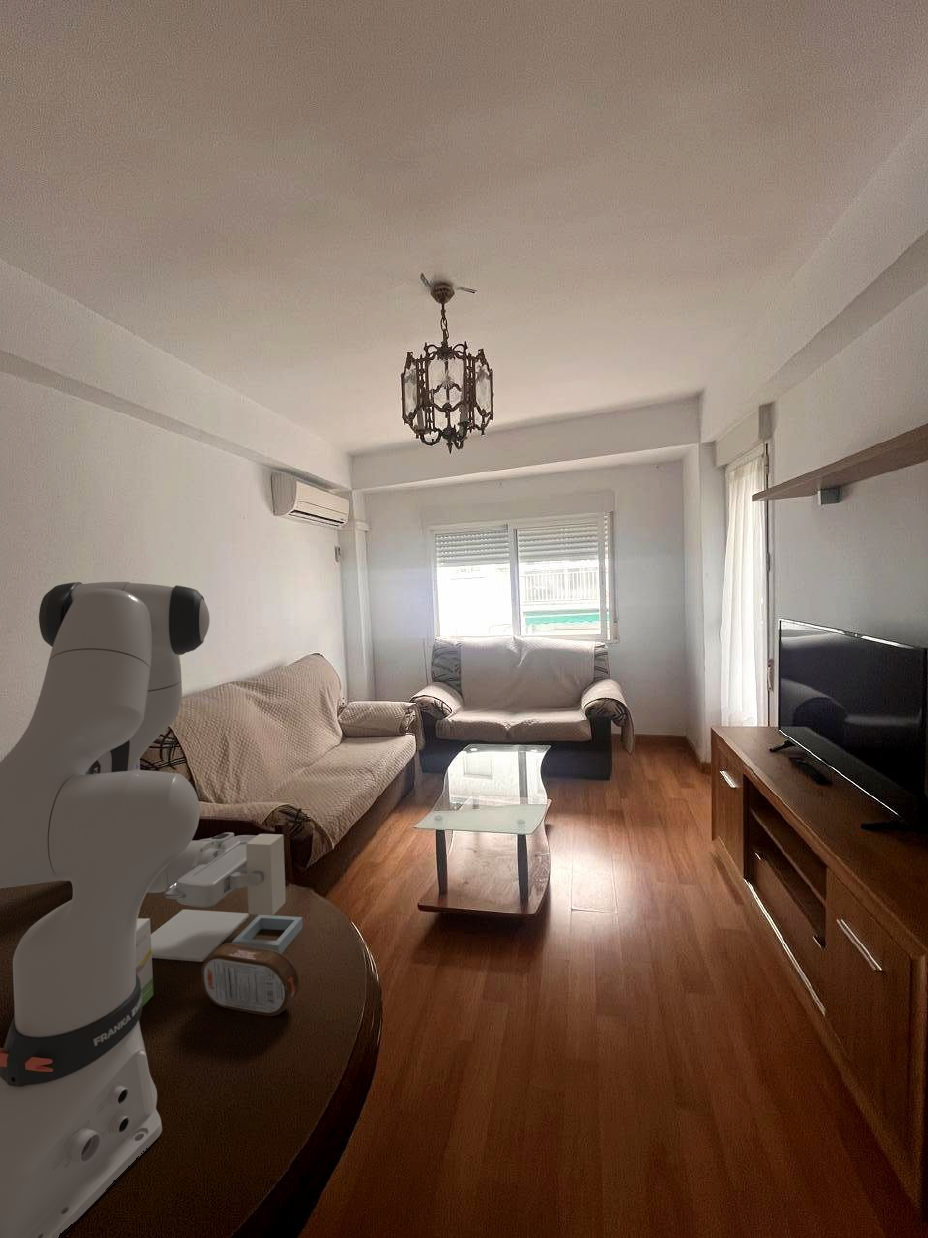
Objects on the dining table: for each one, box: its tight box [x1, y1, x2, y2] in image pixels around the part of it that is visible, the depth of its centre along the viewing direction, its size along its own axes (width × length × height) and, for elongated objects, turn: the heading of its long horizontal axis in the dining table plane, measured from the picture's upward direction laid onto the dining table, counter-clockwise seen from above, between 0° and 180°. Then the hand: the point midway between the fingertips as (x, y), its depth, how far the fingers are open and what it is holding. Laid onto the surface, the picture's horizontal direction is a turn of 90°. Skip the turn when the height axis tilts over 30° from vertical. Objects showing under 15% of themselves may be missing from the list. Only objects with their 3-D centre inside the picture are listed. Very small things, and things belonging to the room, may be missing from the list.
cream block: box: [246, 833, 287, 916], centre depth 96 cm, size 4×4×12 cm
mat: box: [151, 909, 250, 963], centre depth 99 cm, size 14×14×1 cm
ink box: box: [136, 918, 154, 1008], centre depth 81 cm, size 9×5×15 cm, turn 84°
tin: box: [200, 942, 300, 1017], centre depth 80 cm, size 15×3×8 cm, turn 74°
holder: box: [231, 914, 304, 954], centre depth 97 cm, size 8×8×2 cm
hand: (270, 870), depth 96 cm, fingers closed on cream block, 4 cm apart
